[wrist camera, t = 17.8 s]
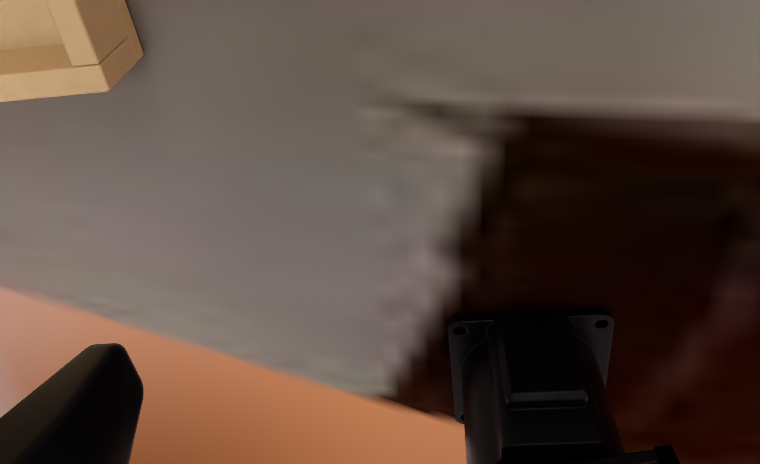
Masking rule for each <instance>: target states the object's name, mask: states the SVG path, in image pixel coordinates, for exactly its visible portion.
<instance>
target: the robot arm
mask: <svg viewBox="0 0 760 464" xmlns="http://www.w3.org/2000/svg"><path fill="white" fill-rule="evenodd" d="M598 320H602V321H600V322H597V321H598ZM457 327H464V328H461V329H458V328H457ZM613 329H614V320H613V317H612V314H611V312H610V311H609V310H607V309H605V308H590V309H571V310H552V311H533V312H514V313H494V314H475V315H459V316H454V317H452V318H451V319H450V320H449V321H448V338H449V350H450V362H451V375H452V387H453V399H454V412H455V419H456V421H457V422H459V423H461V424H464V427H465V442H466V457H467V464H680V463H679V460H678V458H677V456H676V454H675V452H674V450H673V447H672V445H671V444H669V445H662V446H655V447H654V450H647V451H640V452H633V453H624V449H623V446H622V443H621V439H620V436H619V432H618V429H617V426H616V422H615V419H614V416H613V412H612V409H611V406H610V402H609V399H608V395H607V392H606V381H607V374H608V366H609V359H610V351H611V344H612V337H613ZM142 401H143V384H142V381H141V379H140V377H139V375H138V373H137V371H136V369H135V367H134V365H133V363H132V361H131V359H130V357H129V355H128V353H127V351H126V350H125V348H124V347H123V346H121V345H120V344H116V343H112V344H95V345H91V346H89V347H88V348H86V349H85V350H84V351H82V352H81V353H80V354H78V355H77V356H76V357H75V358H74V359H73V360H71V361H70V362H69V363H67V364H66V365H65V366H64V367H63V368H61V369H60V370H59V371H58V372H56V373H55V374H54V375H53V376H51V377H50V378H49V379H48V380H47V381H45V382H44V383H43V384H42V385H40V386H39V387H38V388H37V389H35V390H34V391H33V392H32V393H31V394H29V395H28V396H27V397H26V398H25V399H23V400H22V401H21V402H20V403H18V404H17V405H16V406H15V407H13V408H12V409H11V410H10V411H9V412H7V413H6V414H5V415H4V416H2V417H1V418H0V464H129V461H130V456H131V451H132V447H133V442H134V438H135V433H136V428H137V424H138V419H139V414H140V410H141V405H142Z"/></svg>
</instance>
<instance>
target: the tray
mask: <svg viewBox="0 0 760 464" xmlns="http://www.w3.org/2000/svg"><path fill="white" fill-rule="evenodd" d="M143 55H144V53H143V50H142V47H141V45H140V42H139V39H138V36H137V33H136V30H135V27H134V25H133V22H132V19H131V16H130V13H129V10H128V7H127V5H126V2H125V0H0V102H7V101H17V100H28V99H38V98H48V97H58V96H69V95H79V94H89V93H100V92H109V91H111V90H112V89H113V87H114V86H115V85H116V84H117V83H118V82H119V81H120V80H121V79H122V78H123V77H124V76H125V75H126V74H127V73H128V71H129V70H130V69H131V68H132V67H133V66H134V65H135V64H136V63H137V61H139V60H140V59H141V57H142V56H143Z"/></svg>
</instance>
